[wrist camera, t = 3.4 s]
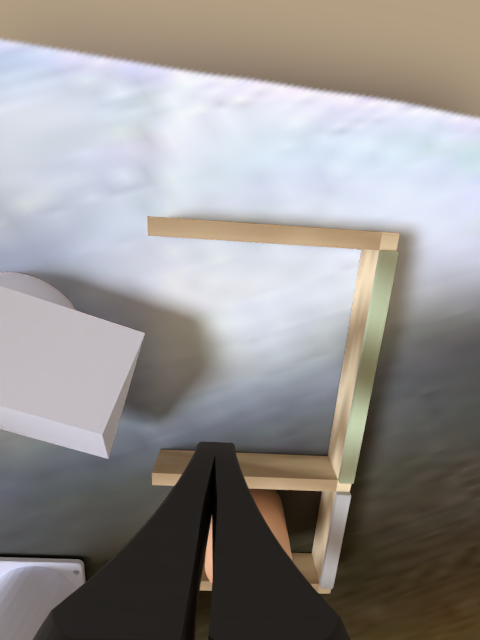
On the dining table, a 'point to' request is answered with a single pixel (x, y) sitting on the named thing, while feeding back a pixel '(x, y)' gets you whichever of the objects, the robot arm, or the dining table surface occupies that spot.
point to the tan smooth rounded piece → (273, 516)
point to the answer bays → (352, 395)
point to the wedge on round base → (61, 367)
